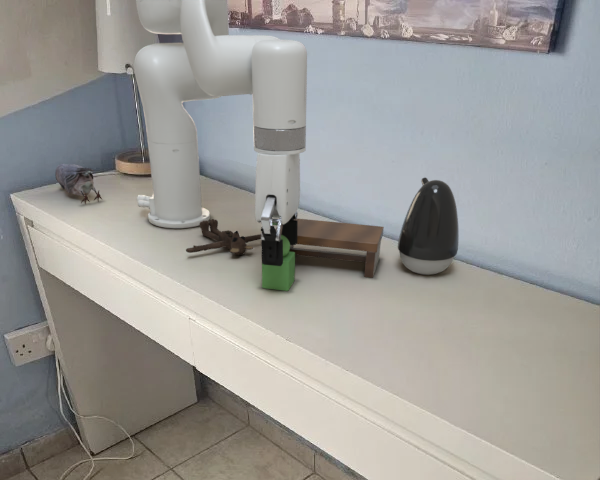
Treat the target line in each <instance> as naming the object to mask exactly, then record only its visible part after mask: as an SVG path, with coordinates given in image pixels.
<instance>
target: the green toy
mask: <svg viewBox="0 0 600 480" xmlns="http://www.w3.org/2000/svg"><path fill="white" fill-rule="evenodd" d="M281 239H282V240H283V264H282V266H273V265H264V264H262V263H261V288H262V289H267V290H276V291H285V292H289V291H290V289H291V288H292V285H293V284H294V282H295V278H296V275H295V273H296V271H295V270H296V255H295V252H289V250H290V243H289V240H288V239H287V238H286V237H285V236H283V235H281Z"/></svg>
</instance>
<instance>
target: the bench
mask: <svg viewBox="0 0 600 480" xmlns="http://www.w3.org/2000/svg"><path fill="white" fill-rule="evenodd" d="M294 220H295V219H294ZM297 220H298V233H297V244H296V245H300V246H311V247H319V248H320V247H321V248H329V249H339V250H349V251H360V252H365V254H358V253H349V252H338V251H331V250H330V251H329V250H320V249H311V248H310V249H309V248H301V247H294V245H290V250H289V252H295V256H301V257H310V258H320V259H330V260H340V261H348V262H356V263H365V265H364V275H363V277H364V278H371V279H372V278H373V279H374V277H375V272H376V270H377V267H378V264H379V260H380V253H381V243H382V238H383V235H384V226H378V225H369V224H361V223H360V224H359V223H350V222H349V223H348V222H337V221H329V220H328V221H327V220H316V219H308V218H307V219H306V218H297ZM275 230H276V231H277V227H275Z"/></svg>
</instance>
